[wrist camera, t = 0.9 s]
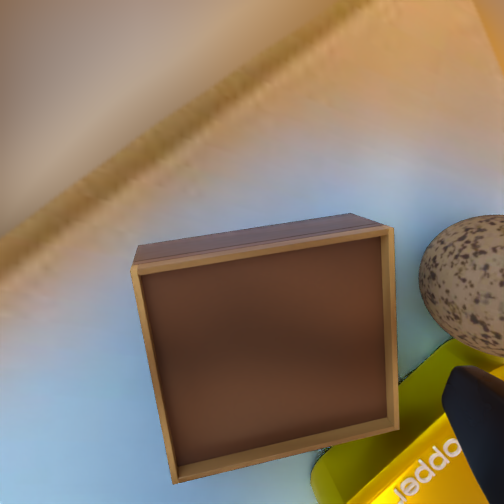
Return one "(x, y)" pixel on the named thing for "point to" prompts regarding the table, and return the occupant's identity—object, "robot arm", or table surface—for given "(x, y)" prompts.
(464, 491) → the element tile
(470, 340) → the decorative egg
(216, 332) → the shallow square tray
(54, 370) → the table surface
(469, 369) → the robot arm
